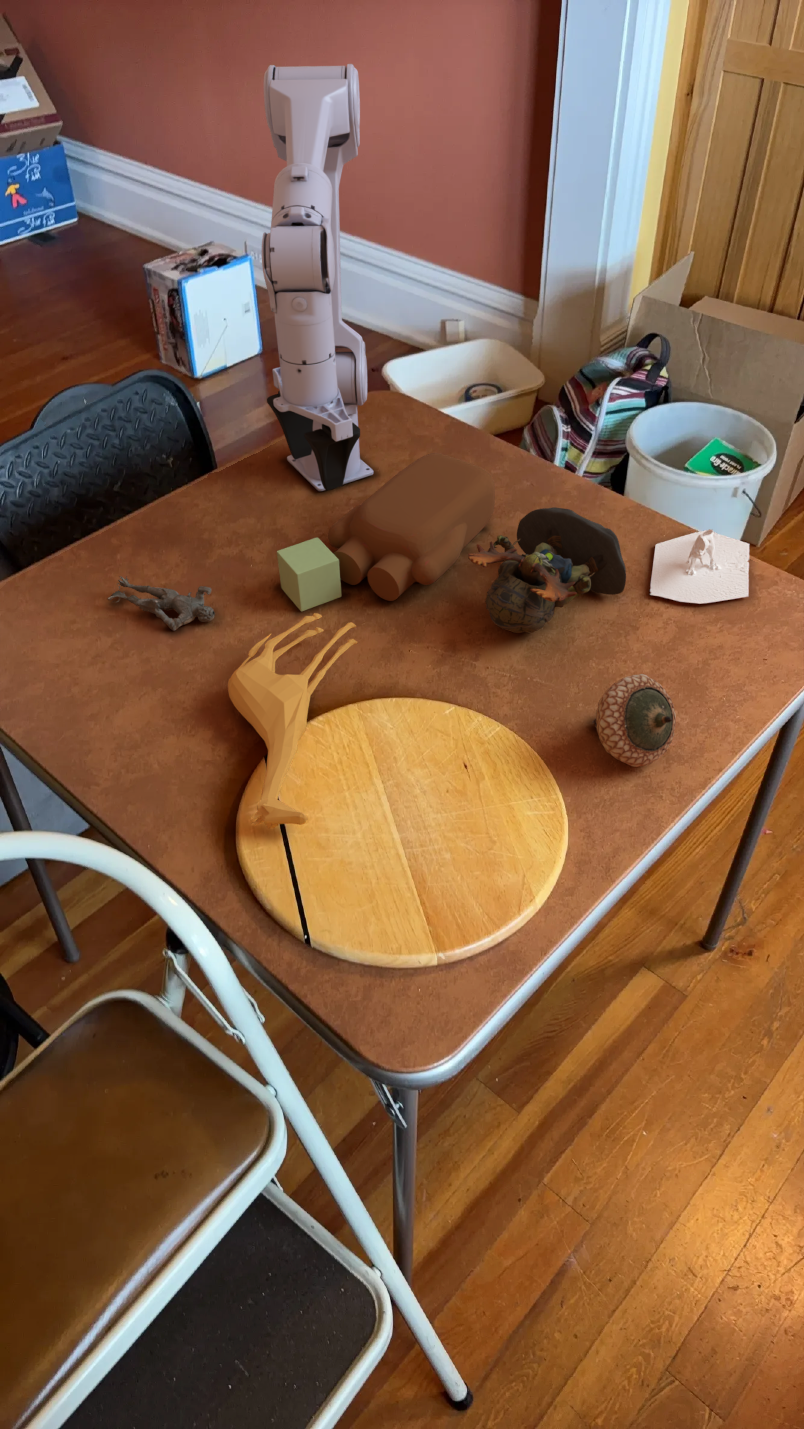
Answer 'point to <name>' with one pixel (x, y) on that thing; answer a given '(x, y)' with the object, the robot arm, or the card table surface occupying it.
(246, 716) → the giraffe
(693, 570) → the dinosaur figurine
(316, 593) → the felt cube
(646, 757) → the acorn
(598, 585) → the figurine
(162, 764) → the card table surface
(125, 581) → the figurine
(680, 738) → the card table surface
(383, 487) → the toy
